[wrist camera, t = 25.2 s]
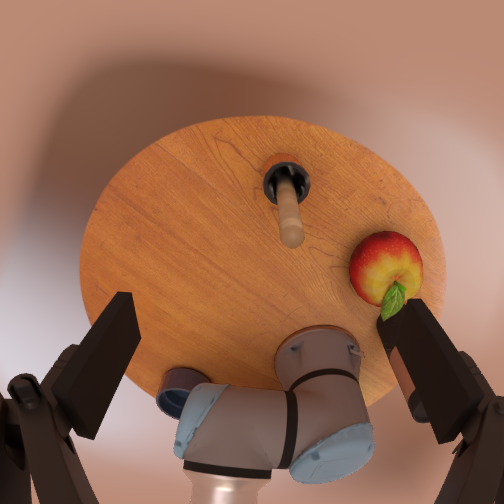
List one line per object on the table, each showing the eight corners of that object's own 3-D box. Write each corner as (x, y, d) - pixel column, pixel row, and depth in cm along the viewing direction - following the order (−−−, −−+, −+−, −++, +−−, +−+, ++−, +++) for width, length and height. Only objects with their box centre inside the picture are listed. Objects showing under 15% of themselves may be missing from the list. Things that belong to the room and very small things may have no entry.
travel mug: (404, 339, 52) (445, 421, 34) (368, 336, 52) (402, 426, 34) (420, 304, 49) (472, 383, 31) (383, 300, 49) (429, 387, 31)
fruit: (417, 232, 44) (448, 259, 35) (392, 293, 48) (414, 329, 39) (356, 214, 44) (379, 240, 34) (333, 280, 48) (347, 318, 39)
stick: (289, 178, 42) (304, 253, 25) (274, 177, 42) (279, 253, 25) (290, 163, 41) (307, 231, 24) (275, 163, 41) (280, 230, 24)
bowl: (214, 401, 60) (211, 423, 54) (167, 396, 60) (161, 418, 55) (211, 367, 56) (206, 391, 50) (159, 363, 56) (151, 385, 51)
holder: (300, 190, 43) (309, 208, 34) (262, 189, 43) (262, 206, 35) (301, 153, 41) (311, 162, 32) (263, 152, 41) (263, 160, 33)
